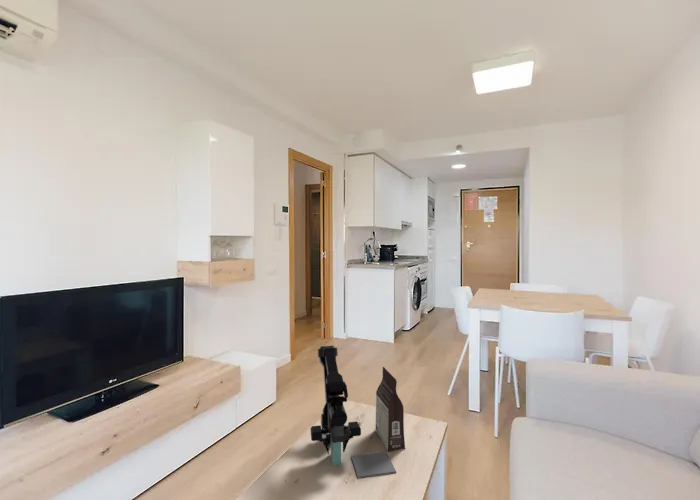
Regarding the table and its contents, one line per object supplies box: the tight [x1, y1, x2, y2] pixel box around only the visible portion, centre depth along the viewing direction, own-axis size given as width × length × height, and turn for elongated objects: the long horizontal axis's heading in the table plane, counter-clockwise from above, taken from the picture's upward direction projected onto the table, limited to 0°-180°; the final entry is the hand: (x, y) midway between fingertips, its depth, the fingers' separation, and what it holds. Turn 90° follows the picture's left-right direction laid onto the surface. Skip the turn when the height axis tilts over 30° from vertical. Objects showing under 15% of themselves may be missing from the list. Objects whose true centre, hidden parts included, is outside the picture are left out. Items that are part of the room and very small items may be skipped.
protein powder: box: [374, 366, 406, 452], centre depth 147 cm, size 16×9×28 cm, turn 14°
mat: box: [351, 450, 397, 479], centre depth 130 cm, size 12×14×1 cm
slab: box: [330, 440, 342, 467], centre depth 134 cm, size 7×3×9 cm, turn 10°
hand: (335, 452), depth 134 cm, fingers open, 6 cm apart
